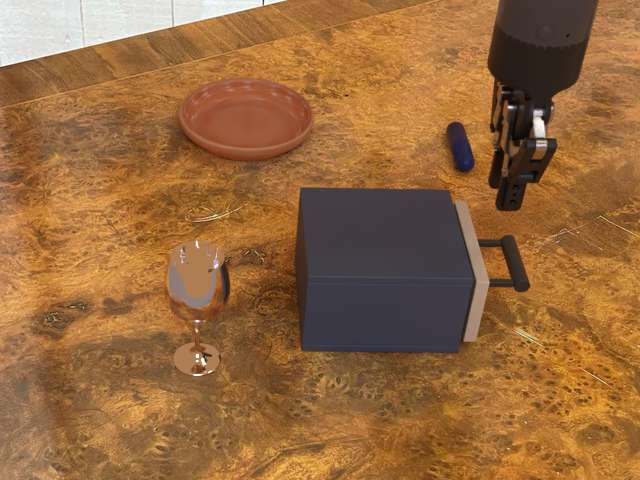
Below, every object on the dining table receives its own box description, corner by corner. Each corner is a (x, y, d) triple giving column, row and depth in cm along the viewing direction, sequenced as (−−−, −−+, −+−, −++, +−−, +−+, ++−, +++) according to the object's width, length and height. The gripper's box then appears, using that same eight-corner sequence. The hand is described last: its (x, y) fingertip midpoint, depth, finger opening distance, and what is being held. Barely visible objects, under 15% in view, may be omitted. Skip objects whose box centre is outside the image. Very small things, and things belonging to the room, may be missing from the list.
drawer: (500, 259, 109) (514, 201, 104) (526, 342, 100) (543, 283, 95) (322, 257, 109) (328, 198, 104) (331, 340, 99) (338, 280, 95)
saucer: (324, 165, 123) (326, 143, 121) (186, 173, 121) (185, 151, 119) (299, 95, 135) (300, 74, 133) (173, 101, 133) (172, 80, 131)
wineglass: (187, 329, 101) (186, 229, 93) (239, 351, 99) (243, 250, 91) (153, 366, 97) (149, 264, 89) (207, 389, 95) (208, 287, 87)
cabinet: (435, 261, 110) (449, 189, 104) (457, 353, 100) (473, 278, 94) (294, 259, 110) (300, 186, 104) (301, 351, 99) (308, 276, 93)
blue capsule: (443, 133, 129) (446, 117, 127) (461, 133, 129) (464, 118, 127) (455, 176, 122) (458, 159, 120) (474, 176, 122) (478, 160, 121)
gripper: (614, 64, 80) (563, 246, 91) (569, -17, 90) (528, 155, 102) (515, 62, 80) (475, 245, 91) (481, -19, 90) (449, 154, 102)
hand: (503, 196), depth 96 cm, fingers open, 3 cm apart
